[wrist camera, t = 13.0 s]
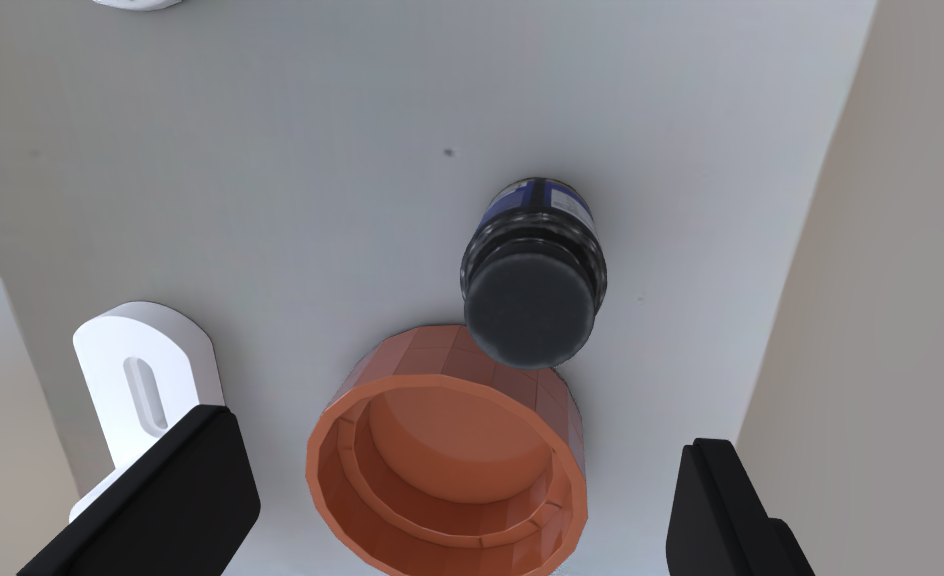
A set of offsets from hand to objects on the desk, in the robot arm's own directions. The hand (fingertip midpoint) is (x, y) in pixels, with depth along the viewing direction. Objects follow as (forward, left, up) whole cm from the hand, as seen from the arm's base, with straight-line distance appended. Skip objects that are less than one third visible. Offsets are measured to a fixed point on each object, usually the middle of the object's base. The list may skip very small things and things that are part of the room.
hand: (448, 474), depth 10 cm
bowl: (+4, -15, -19) cm, 24 cm away
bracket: (-15, -27, -19) cm, 36 cm away
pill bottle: (+1, 0, -19) cm, 19 cm away
